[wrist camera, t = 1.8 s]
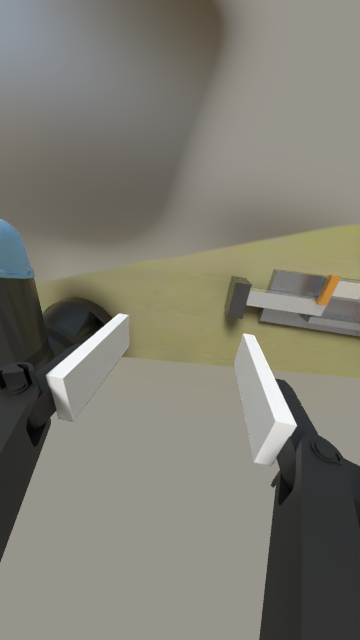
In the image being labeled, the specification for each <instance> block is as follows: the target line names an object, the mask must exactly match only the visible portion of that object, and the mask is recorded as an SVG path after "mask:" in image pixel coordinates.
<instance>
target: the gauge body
mask: <svg viewBox="0 0 360 640" xmlns="http://www.w3.org/2000/svg"><path fill="white" fill-rule="evenodd" d="M327 278H328V276H324V275H316V274H308V273H301V272H293V271H285V270H278V269H274V271H273V274H272V277H271V280H270V283H269V286H268V289H267V290H270V291H277V292H285V293H292V294H299V295H306V296H313V297H319V295H320V293H321V291H322V289H323V287H324V285H325V282H326V280H327ZM258 319H259V320H260V321H264V322H271V323H277V324H284V325H290V326H296V327H303V328H309V329H316V330H322V331H329V332H335V333H341V334H348V335H354V336H360V280H354V279H347V278H340V280H339V282H338V284H337V286H336V288H335V290H334V292H333V294H332V296H331V298H330V300H329V302H328V304H327V306H326V307H325V309H324V311H323V313H322V315H321V316H315V315H309V314H302V313H295V312H289V311H282V310H275V309H269V308H262V307H261V310H260V313H259V316H258Z"/></svg>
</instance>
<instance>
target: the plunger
mask: <svg viewBox="0 0 360 640" xmlns="http://www.w3.org/2000/svg"><path fill="white" fill-rule="evenodd" d="M340 278H341V277H339V276H333V275H329V276H328V278H327V280H326V282H325V285H324V287H323V289H322V291H321V293H320V295H319V297H313V296H306V295H299V294H292V293H285V292H277V291H270V290H263V289H256V288H251V286H252V284H251V283H250V282H249V281H248V280H247V279H246V278H241V277H233V276H232V278H231V282H230V286H229V291H228V295H227V299H226V304H225V310H226V314H227V317H233V318H239V319H242V317H243V313H244V310H245V306H246V305H248V306H255V307H262V308H269V309H275V310H282V311H289V312H295V313H302V314H309V315H315V316H321V315H322V313H323V311H324V309H325V307H326V306H327V304H328V302H329V300H330V298H331V296H332V294H333V292H334V290H335V288H336V286H337V284H338V282H339V280H340Z"/></svg>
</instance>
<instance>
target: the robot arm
mask: <svg viewBox="0 0 360 640" xmlns="http://www.w3.org/2000/svg"><path fill="white" fill-rule="evenodd" d="M34 276H35V274H34V270H33V268H32V267H31V266H30V263H29V260H28V257H27V253H26V249H25V246H24V243H23V240H22V237H21V236H20V234H19V233H18V231H17V230H16V229H15V228H14V227H12V226H11V225H10V224H9V223H7V222H5V221H4V220H2V219H0V561H1V558H2V556H3V553H4V551H5V548H6V545H7V542H8V540H9V536H10V534H11V531H12V529H13V526H14V523H15V520H16V518H17V515H18V512H19V510H20V507H21V504H22V501H23V499H24V496H25V493H26V490H27V488H28V485H29V482H30V479H31V477H32V474H33V471H34V468H35V466H36V463H37V460H38V458H39V455H40V452H41V450H42V447H43V444H44V441H45V439H46V436H47V433H48V430H49V428H50V424H51V419H50V417H51V416H52V415H53V414H54V412H55V411H56V412H57V415H58V418H59V419H62V420H67V421H71V422H74V420H75V419H76V418H77V416H78V415H79V414H80V412H81V411H82V409H83V408H84V407H85V406H86V404H87V403H88V401H89V400H90V399H91V397H92V396H93V395H94V393H95V392H96V391H97V389H98V388H99V387H100V385H101V384H102V382H103V381H104V380H105V378H106V377H107V376H108V374H109V373H110V372H111V370H112V369H113V367H114V366H115V365H116V363H117V362H118V361H119V359H120V358H121V357H122V355H123V354H124V352H125V351H126V350H127V348H128V347H129V315H126V314H120V313H119V314H118V315H117V316H115V317H114V318H113V319H112V318H111V316H110V315H109V314H108V313H107V312H106V311H105V310H104V309H102V308H101V307H100V306H98V305H97V304H95V303H93V302H91V301H89V300H86V299H82V298H67V299H64V300H61V301H59V302H57V303H54V304H52V305H51V306H50V307H48V308H47V309H46V311H45V312H44V313H43V314H42V310H41V306H40V302H39V298H38V293H37V289H36V285H35V281H34ZM234 368H235V372H236V377H237V382H238V387H239V392H240V397H241V402H242V407H243V412H244V417H245V421H246V426H247V431H248V436H249V441H250V446H251V451H252V456H253V461H254V462H256V463H260V464H265V465H269V466H272V465H273V463H274V462H275V460H276V459H277V461H278V464H279V467H280V471H279V472H278V474H277V475H276V476H275V478H274V479H273V481H272V484H271V486H272V487H274V486H275V485H276V490H275V500H274V509H273V518H272V527H271V537H270V546H269V555H268V564H267V574H266V583H265V593H264V602H263V611H262V621H261V629H260V639H259V640H360V466H358V465H356V464H354V463H352V462H350V461H348V460H346V459H344V458H343V456H342V455H341V454H340V452H339V451H338V450H337V449H336V448H335V447H334V446H333V445H332V444H331V443H330V442H329V441H327V440H326V439H324V438H323V437H321V436H319V435H318V433H317V431H316V430H315V428H314V426H313V424H312V422H311V421H310V419H309V417H308V415H307V414H306V412H305V410H304V408H303V406H301V403H300V401H299V399H298V398H297V396H296V394H295V392H294V390H293V389H292V388H291V387H290V385H289V384H287V383H286V382H285V381H284V380H280V379H275V378H274V376H273V374H272V372H271V370H270V368H269V366H268V363H267V361H266V359H265V357H264V355H263V353H262V351H261V349H260V347H259V345H258V342H257V340H256V338H255V336H254V335H249V334H243V336H242V339H241V342H240V345H239V349H238V352H237V355H236V359H235V362H234Z"/></svg>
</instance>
